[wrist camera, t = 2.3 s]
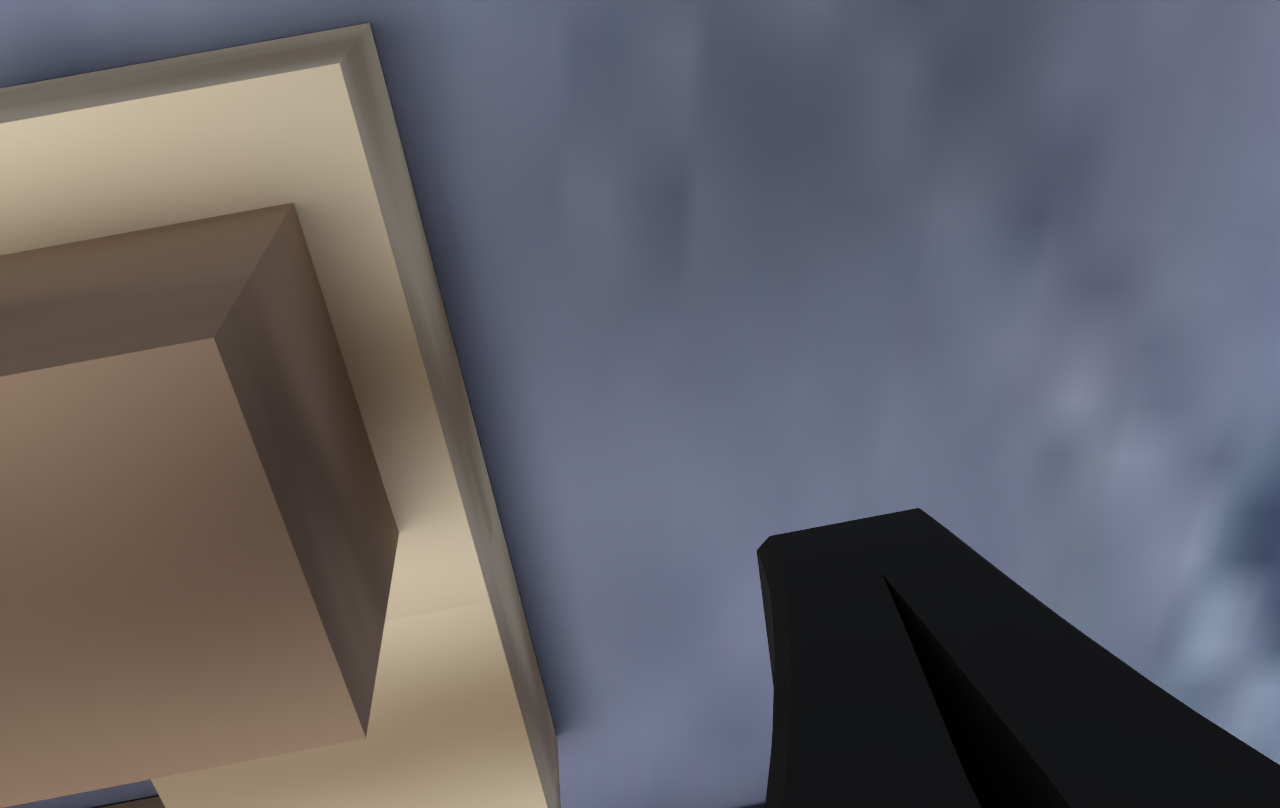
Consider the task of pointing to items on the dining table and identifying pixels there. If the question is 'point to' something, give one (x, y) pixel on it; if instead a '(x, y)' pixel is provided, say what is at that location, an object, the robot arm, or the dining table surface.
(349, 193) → the trap box
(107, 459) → the walnut block
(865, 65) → the dining table surface
